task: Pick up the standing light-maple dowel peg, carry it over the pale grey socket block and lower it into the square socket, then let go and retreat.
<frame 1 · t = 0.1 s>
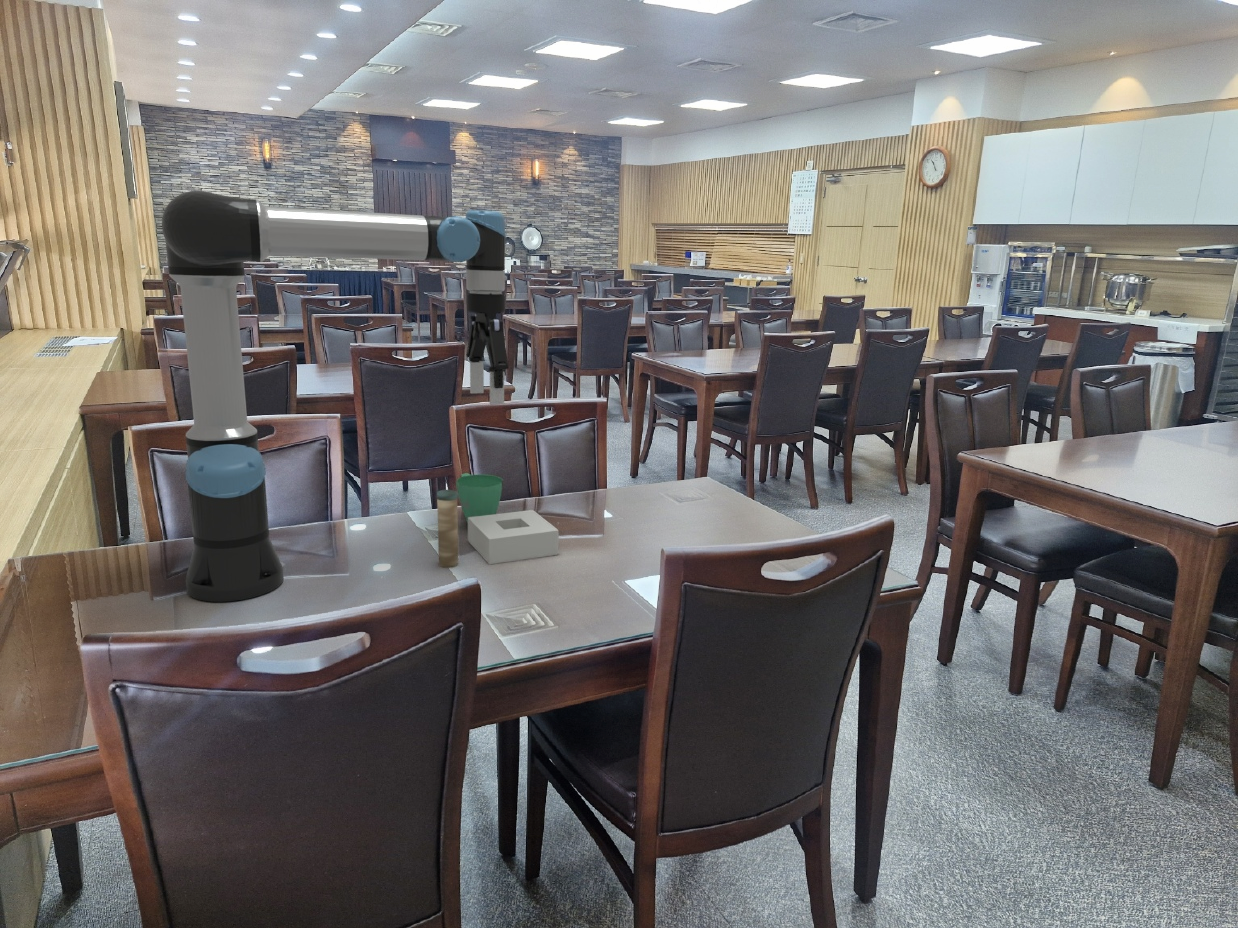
hand: (486, 398, 166), 28 cm above the table, fingers open, 13 cm apart
peg: (448, 564, 152), on the table
mug: (475, 522, 176), on the table
socket block: (512, 547, 162), on the table
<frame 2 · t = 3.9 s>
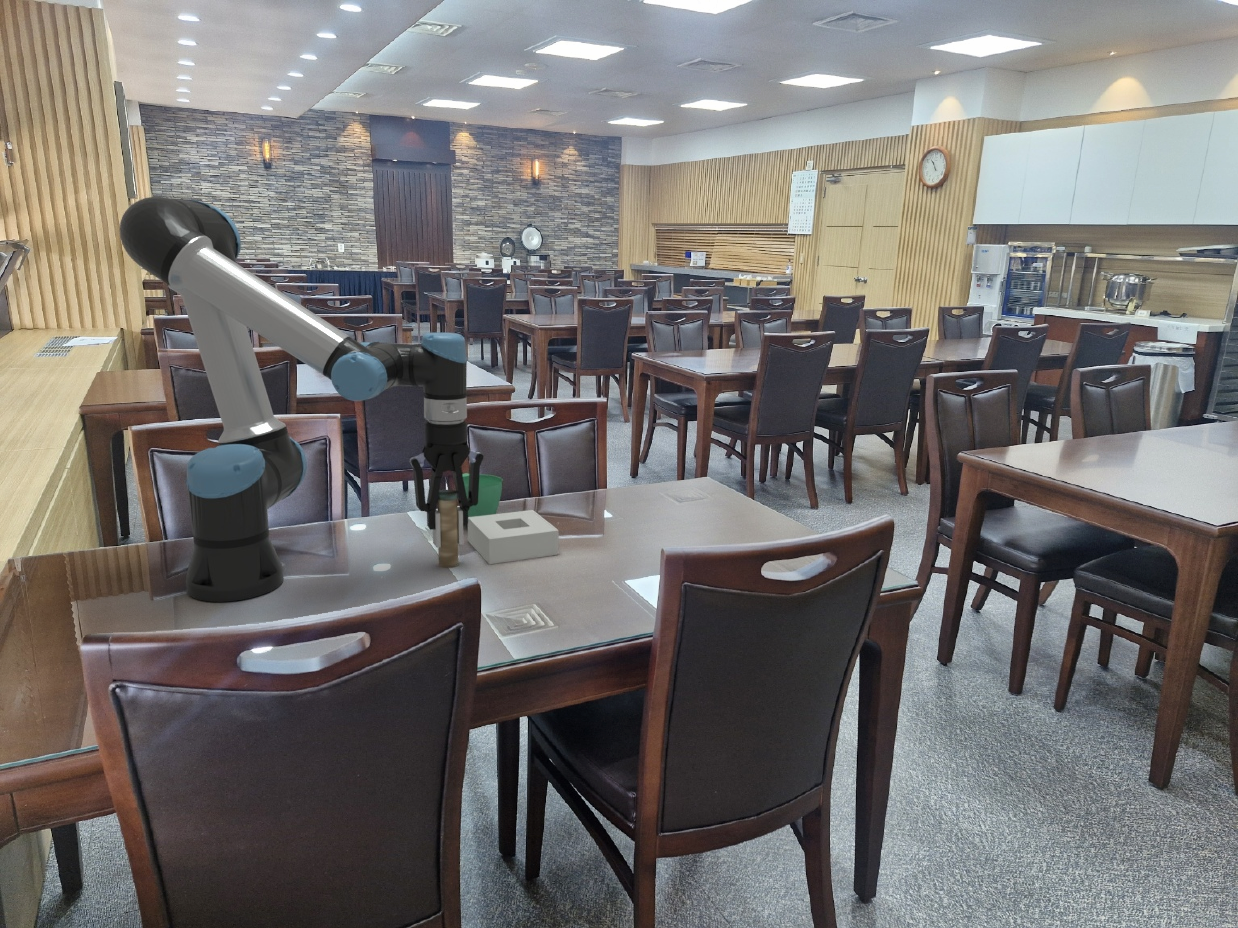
hand: (448, 543, 151), 4 cm above the table, fingers closed on peg, 3 cm apart
peg: (448, 564, 152), on the table, touching gripper
everything else where it was.
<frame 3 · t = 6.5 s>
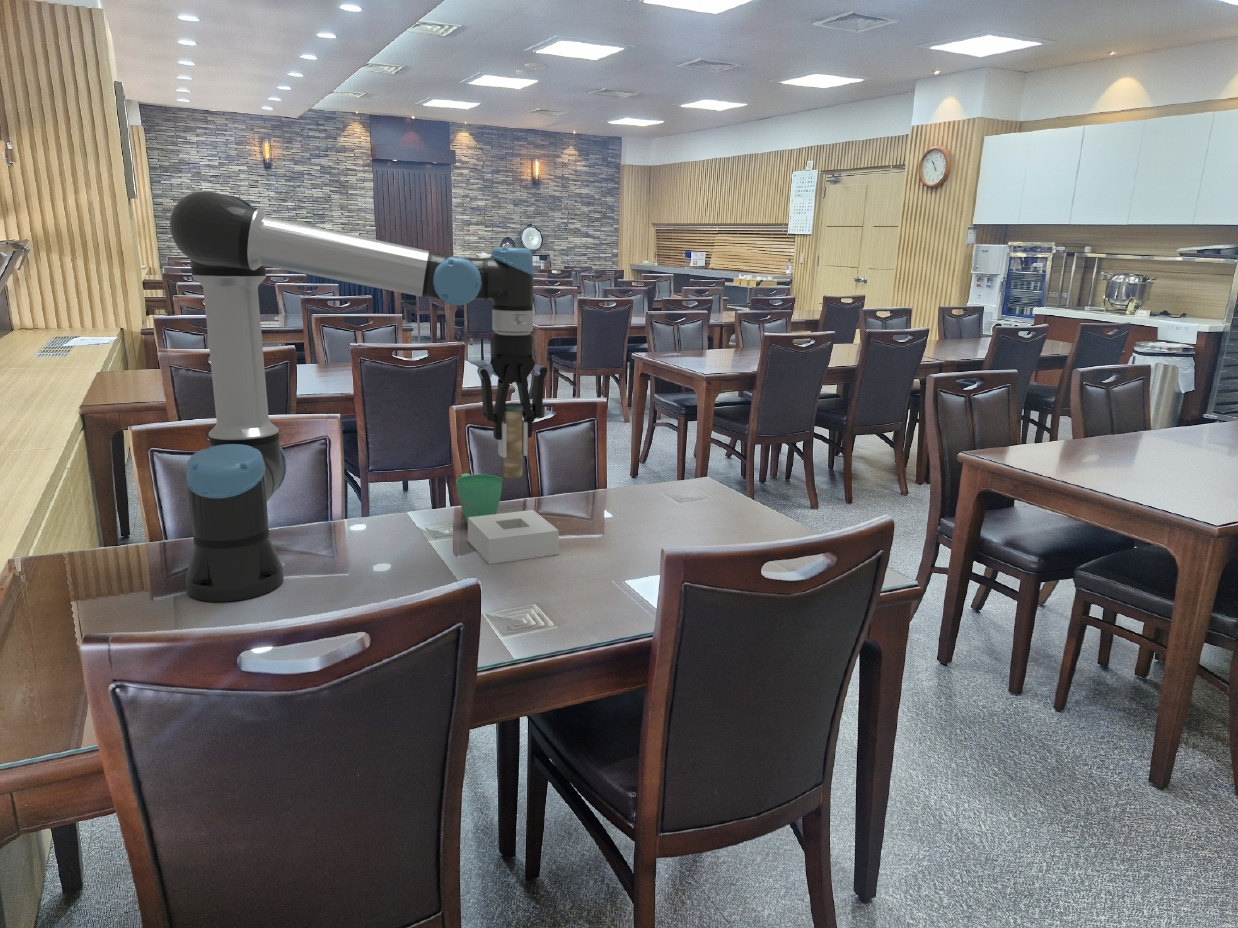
hand: (512, 454, 157), 19 cm above the table, fingers closed on peg, 3 cm apart
peg: (513, 475, 158), point 15 cm above the table, touching gripper
everything else where it was.
when the fingers open (8 cm above the table, at t = 9.0 s): peg drops 3 cm, resting in socket block.
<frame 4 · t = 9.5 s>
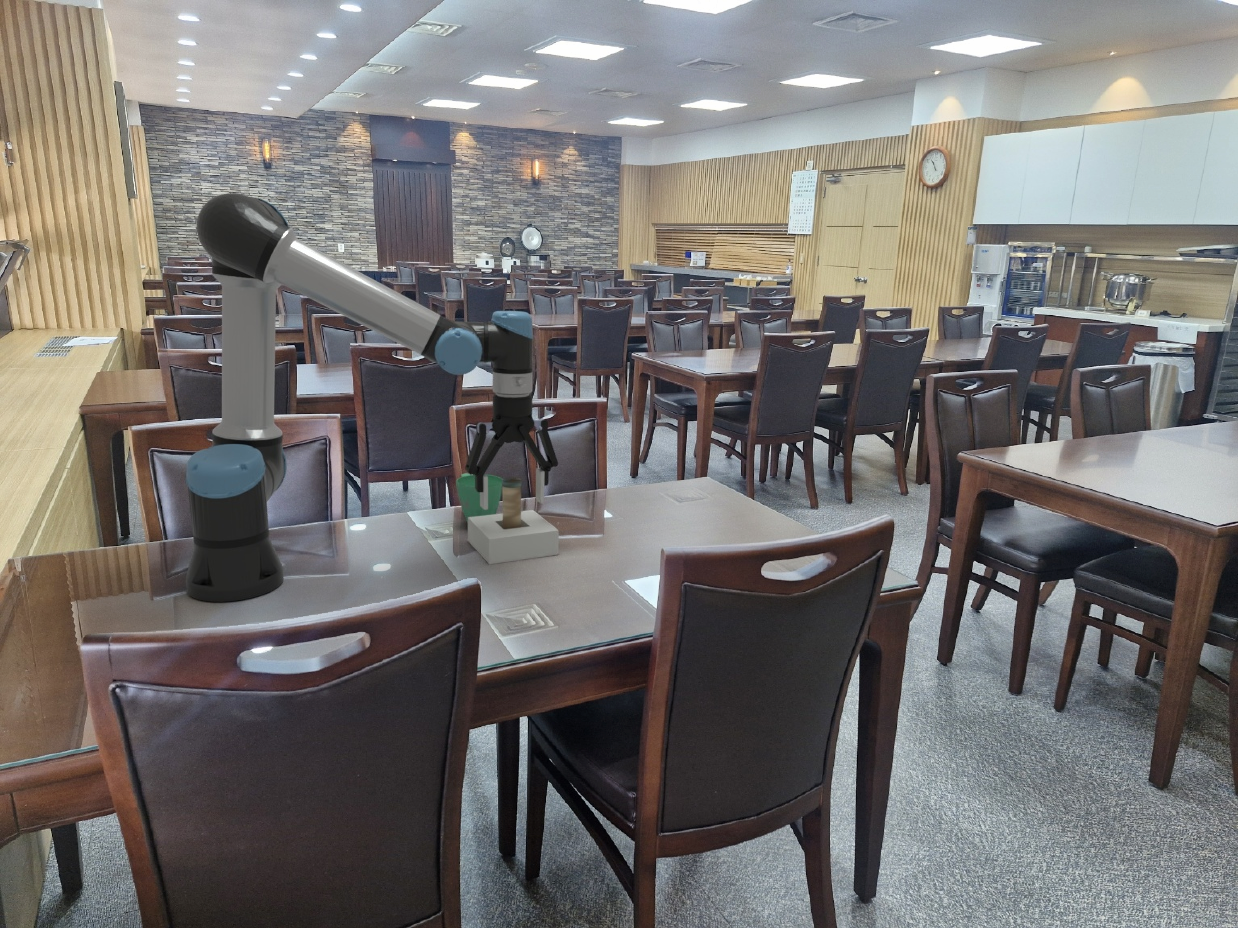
hand: (512, 504, 160), 9 cm above the table, fingers open, 11 cm apart
peg: (512, 547, 162), resting in socket block
everything else where it was.
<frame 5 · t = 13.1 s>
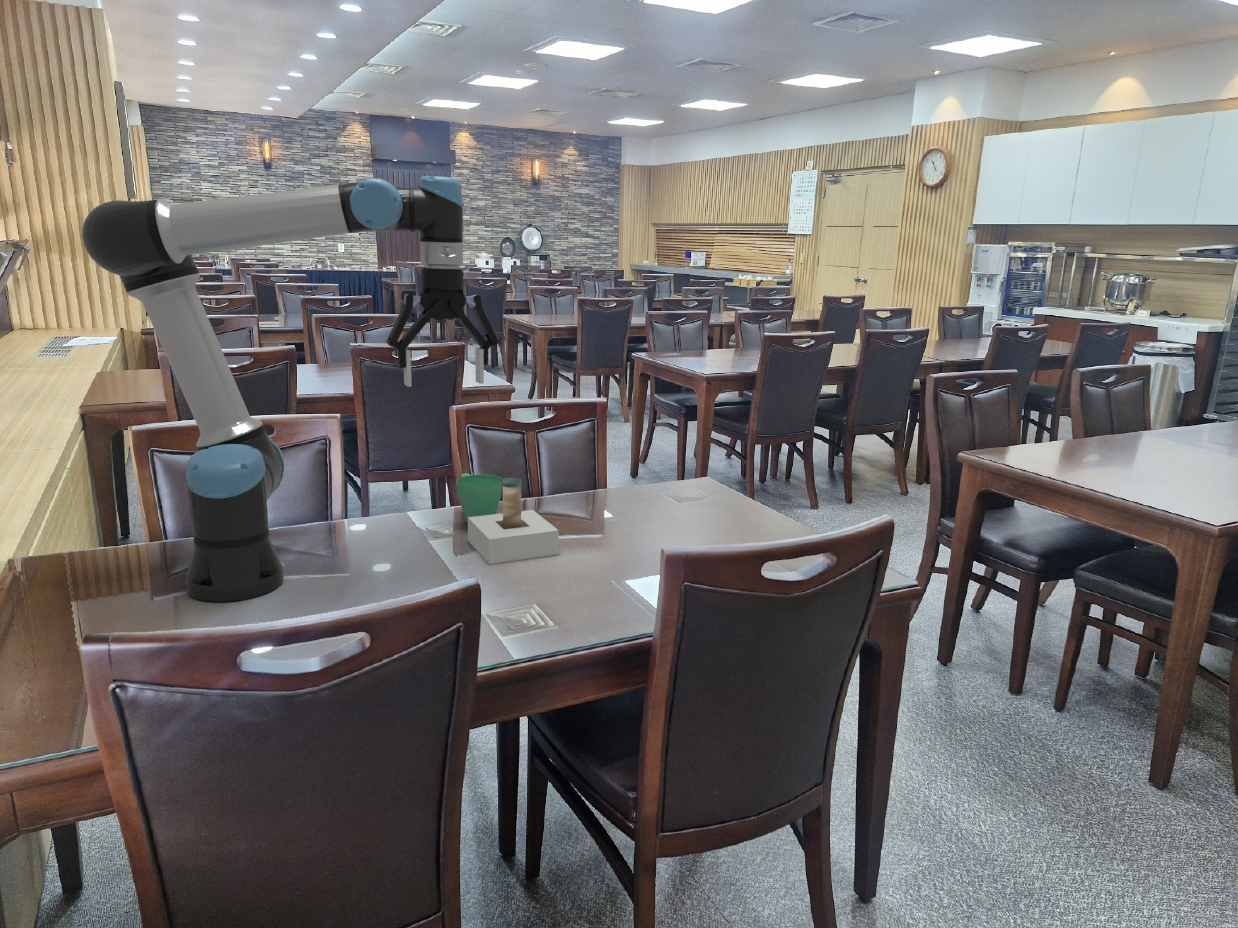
hand: (444, 384, 152), 33 cm above the table, fingers open, 13 cm apart
nothing on the table moved.
at the end: peg 0.1 cm off-centre on the socket block, point 0.0 cm above the socket block's base; peg tilted 0°; the gripper is holding nothing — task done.
